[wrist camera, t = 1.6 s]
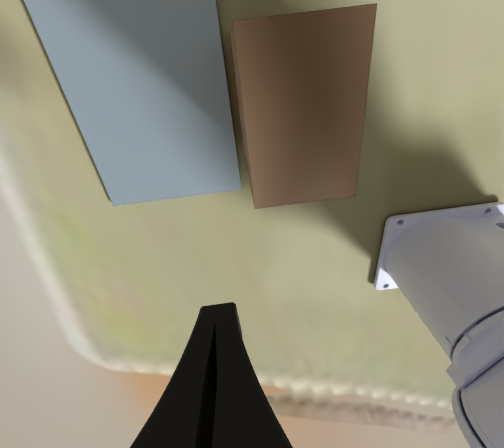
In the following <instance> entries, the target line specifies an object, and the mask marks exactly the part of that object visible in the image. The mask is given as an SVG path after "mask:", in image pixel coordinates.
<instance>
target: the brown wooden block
mask: <svg viewBox="0 0 504 448" xmlns="http://www.w3.org/2000/svg"><path fill="white" fill-rule="evenodd" d="M376 9H377V3H375V4H367V5H359V6H351V7H342V8H334V9H326V10H318V11H310V12H302V13H294V14H286V15H278V16H270V17H261V18H253V19H245V20H237V21H233V24H232V27H231V31H230V40H231V48H232V57H233V65H234V73H235V81H236V89H237V97H238V106H239V114H240V122H241V130H242V138H243V146H244V151H245V157H246V163H247V168H248V174H249V179H250V185H251V190H252V196H253V201H254V207H255V209H259V208H266V207H274V206H281V205H289V204H297V203H304V202H312V201H320V200H327V199H335V198H342V197H350V196H355V193H356V185H357V176H358V167H359V158H360V150H361V141H362V132H363V123H364V114H365V106H366V97H367V88H368V79H369V70H370V62H371V53H372V44H373V35H374V26H375V18H376Z"/></svg>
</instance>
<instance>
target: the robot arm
mask: <svg viewBox="0 0 504 448" xmlns="http://www.w3.org/2000/svg"><path fill="white" fill-rule="evenodd" d="M503 214H504V203H502V202H494V203H486V204H479V205H471V206H464V207H456V208H449V209H441V210H434V211H426V212H419V213H411V214H404V215H396V216H391V217H389V218H388V219H387V220H386V223H385V229H384V234H383V239H382V244H381V249H380V254H379V260H378V265H377V270H376V275H375V280H374V287H375V289H376V290H385V289H392V288H399V289H400V290H401V292H402V293H403V294H404V296H405V297H406V299H407V300H408V301H409V303H410V304H411V306H412V307H413V308H414V310H415V311H416V313H417V314H418V315H419V317H420V318H421V319H422V321H423V322H424V324H425V325H426V326H427V328H428V329H429V331H430V332H431V333H432V335H433V336H434V338H435V339H436V340H437V342H438V343H439V344H440V346H441V347H442V349H443V350H444V351H445V353H446V354H447V356H448V357H449V358H450V360H451V361H452V363H451V365H450V366H449V367H448V368H447V369H446V372H447V373H448V375H449V376H450V378H451V379H452V380H453V382H454V383H455V385H456V388H455V389H454V390H453V393H452V400H451V402H452V408H453V412H454V415H455V418H456V420H457V423H458V425H459V427H460V429H461V431H462V433H463V435H464V437H465V439H466V440H467V442H468V444H469V445H470V447H471V448H504V215H503ZM399 220H401V221H400V222H398V221H399ZM397 222H398V223H397ZM130 448H293V447H292V446H291V444H290V442H289V440H288V438H287V436H286V434H285V433H284V431H283V429H282V427H281V425H280V424H279V422H278V420H277V418H276V416H275V414H274V412H273V410H272V408H271V406H270V404H269V402H268V400H267V398H266V396H265V394H264V392H263V390H262V388H261V386H260V383H259V381H258V379H257V377H256V374H255V372H254V369H253V367H252V365H251V362H250V360H249V357H248V354H247V351H246V349H245V346H244V343H243V340H242V331H241V327H240V322H239V317H238V313H237V308H236V304H235V303H233V302H231V303H224V304H217V305H210V306H203V307H202V308H201V309H200V312H199V315H198V318H197V321H196V324H195V326H194V329H193V331H192V334H191V336H190V339H189V341H188V344H187V346H186V348H185V350H184V353H183V355H182V357H181V359H180V361H179V364H178V366H177V368H176V370H175V372H174V374H173V376H172V378H171V380H170V382H169V384H168V386H167V387H166V389H165V391H164V393H163V395H162V396H161V398H160V400H159V402H158V404H157V405H156V407H155V409H154V411H153V412H152V414H151V416H150V417H149V419H148V420H147V422H146V423H145V425H144V427H143V428H142V430H141V431H140V433H139V434H138V436H137V438H136V439H135V441H134V442H133V444H132V445H131V447H130Z"/></svg>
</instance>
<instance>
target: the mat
mask: <svg viewBox="0 0 504 448" xmlns="http://www.w3.org/2000/svg"><path fill="white" fill-rule="evenodd" d="M24 2H25V4H26V7H27V9H28V11H29V14H30V16H31V18H32V20H33V23H34V25H35V27H36V30H37V32H38V34H39V36H40V39H41V41H42V43H43V46H44V48H45V50H46V53H47V55H48V57H49V59H50V62H51V64H52V66H53V69H54V71H55V73H56V76H57V78H58V80H59V82H60V85H61V87H62V89H63V92H64V94H65V96H66V98H67V101H68V103H69V105H70V108H71V110H72V112H73V115H74V117H75V119H76V121H77V124H78V126H79V128H80V131H81V133H82V135H83V138H84V140H85V142H86V144H87V147H88V149H89V151H90V154H91V156H92V158H93V161H94V163H95V165H96V167H97V170H98V172H99V174H100V177H101V179H102V181H103V183H104V186H105V188H106V190H107V193H108V195H109V197H110V200H111V202H112V204H113V206H118V205H126V204H133V203H141V202H149V201H156V200H164V199H172V198H179V197H187V196H195V195H202V194H210V193H217V192H225V191H233V190H240V189H242V188H241V181H240V174H239V166H238V159H237V152H236V145H235V137H234V130H233V123H232V116H231V108H230V101H229V94H228V86H227V79H226V72H225V65H224V57H223V50H222V43H221V36H220V28H219V21H218V14H217V7H216V0H24Z"/></svg>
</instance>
